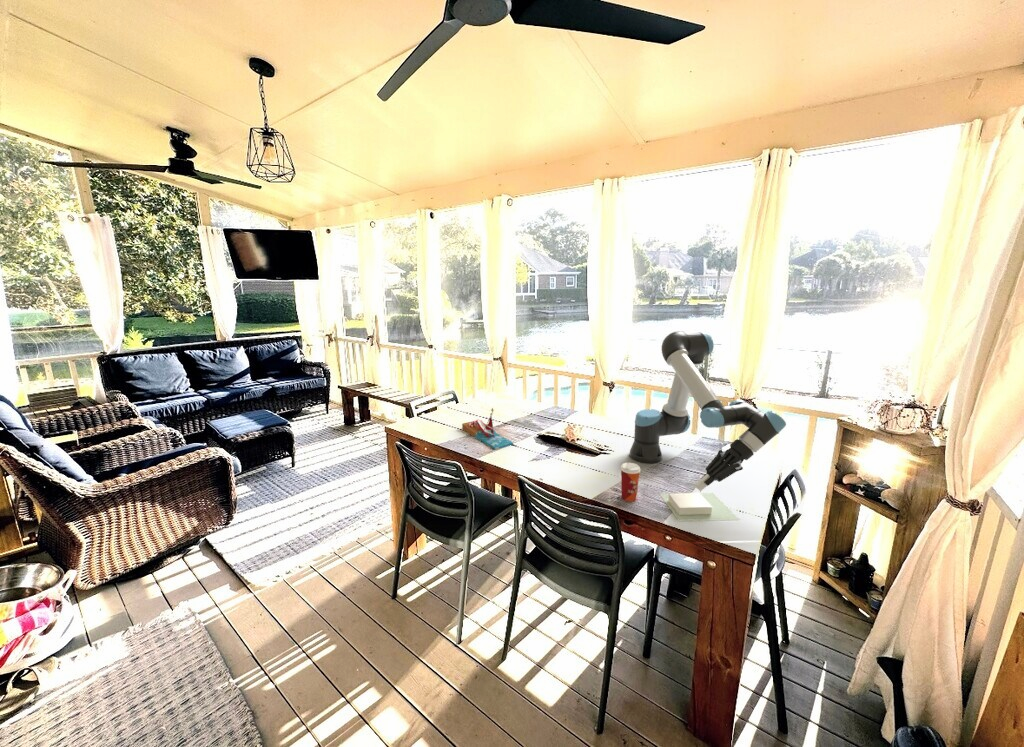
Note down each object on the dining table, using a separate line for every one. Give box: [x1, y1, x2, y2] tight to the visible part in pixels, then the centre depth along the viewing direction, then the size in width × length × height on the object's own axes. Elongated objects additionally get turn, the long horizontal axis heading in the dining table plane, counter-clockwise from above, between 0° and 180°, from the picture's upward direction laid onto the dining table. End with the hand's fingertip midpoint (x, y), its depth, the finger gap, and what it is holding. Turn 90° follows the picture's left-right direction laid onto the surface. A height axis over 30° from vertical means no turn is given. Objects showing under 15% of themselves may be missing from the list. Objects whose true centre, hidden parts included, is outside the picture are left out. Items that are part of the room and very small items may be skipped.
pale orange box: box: [668, 492, 712, 515], centre depth 152 cm, size 10×3×12 cm
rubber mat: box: [659, 492, 740, 522], centre depth 153 cm, size 19×22×1 cm
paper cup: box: [619, 462, 642, 503], centre depth 159 cm, size 8×8×14 cm
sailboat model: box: [461, 407, 514, 451], centre depth 226 cm, size 12×37×17 cm, turn 35°
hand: (697, 488), depth 150 cm, fingers closed
